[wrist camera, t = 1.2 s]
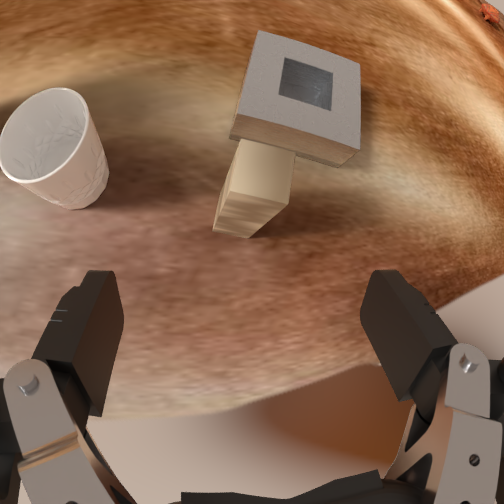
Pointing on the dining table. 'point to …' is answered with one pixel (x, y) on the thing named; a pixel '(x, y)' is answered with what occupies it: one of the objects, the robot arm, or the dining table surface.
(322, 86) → the grey square socket block
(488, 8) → the footed terracotta jar
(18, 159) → the white cup
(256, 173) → the square wooden peg
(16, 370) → the robot arm
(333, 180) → the dining table surface
